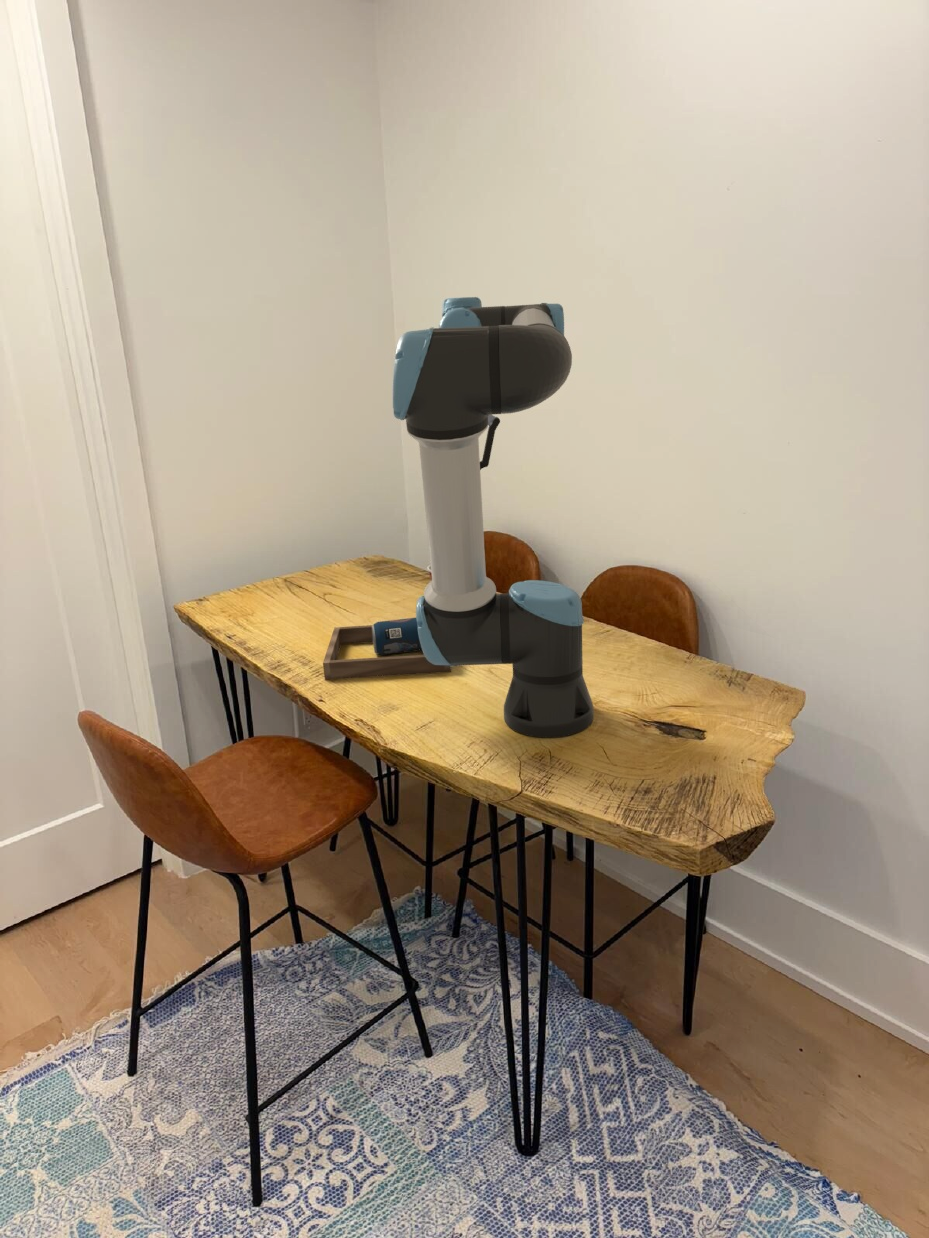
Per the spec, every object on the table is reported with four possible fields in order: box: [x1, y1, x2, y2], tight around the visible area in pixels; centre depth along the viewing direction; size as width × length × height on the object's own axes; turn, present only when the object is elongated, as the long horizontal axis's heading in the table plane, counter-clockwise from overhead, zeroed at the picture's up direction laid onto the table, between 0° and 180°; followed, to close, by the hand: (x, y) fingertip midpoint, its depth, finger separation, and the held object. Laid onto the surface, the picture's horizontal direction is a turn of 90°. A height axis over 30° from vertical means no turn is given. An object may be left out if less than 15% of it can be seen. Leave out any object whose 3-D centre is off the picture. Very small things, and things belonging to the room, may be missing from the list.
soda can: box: [371, 617, 422, 656], centre depth 174 cm, size 7×7×12 cm
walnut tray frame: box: [322, 624, 452, 681], centre depth 172 cm, size 20×25×4 cm
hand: (471, 502), depth 170 cm, fingers closed
